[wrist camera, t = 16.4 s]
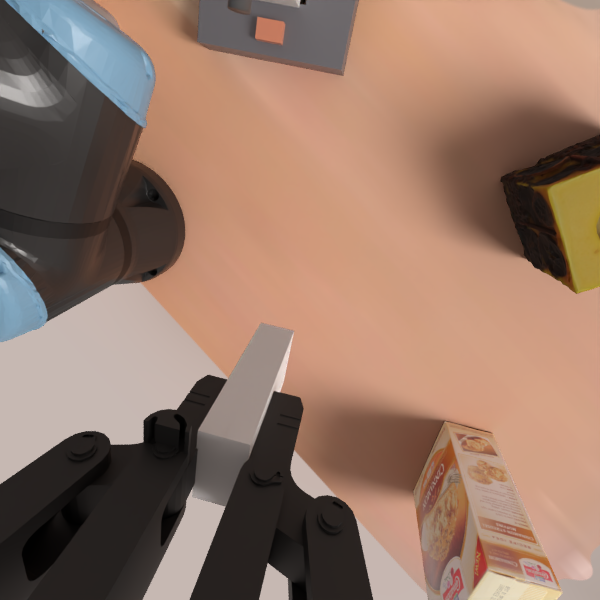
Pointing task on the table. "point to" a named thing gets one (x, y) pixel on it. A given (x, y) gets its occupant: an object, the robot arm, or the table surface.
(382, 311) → the table surface
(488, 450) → the coffeecake box
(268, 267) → the table surface
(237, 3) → the plug
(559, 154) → the candle
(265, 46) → the socket
